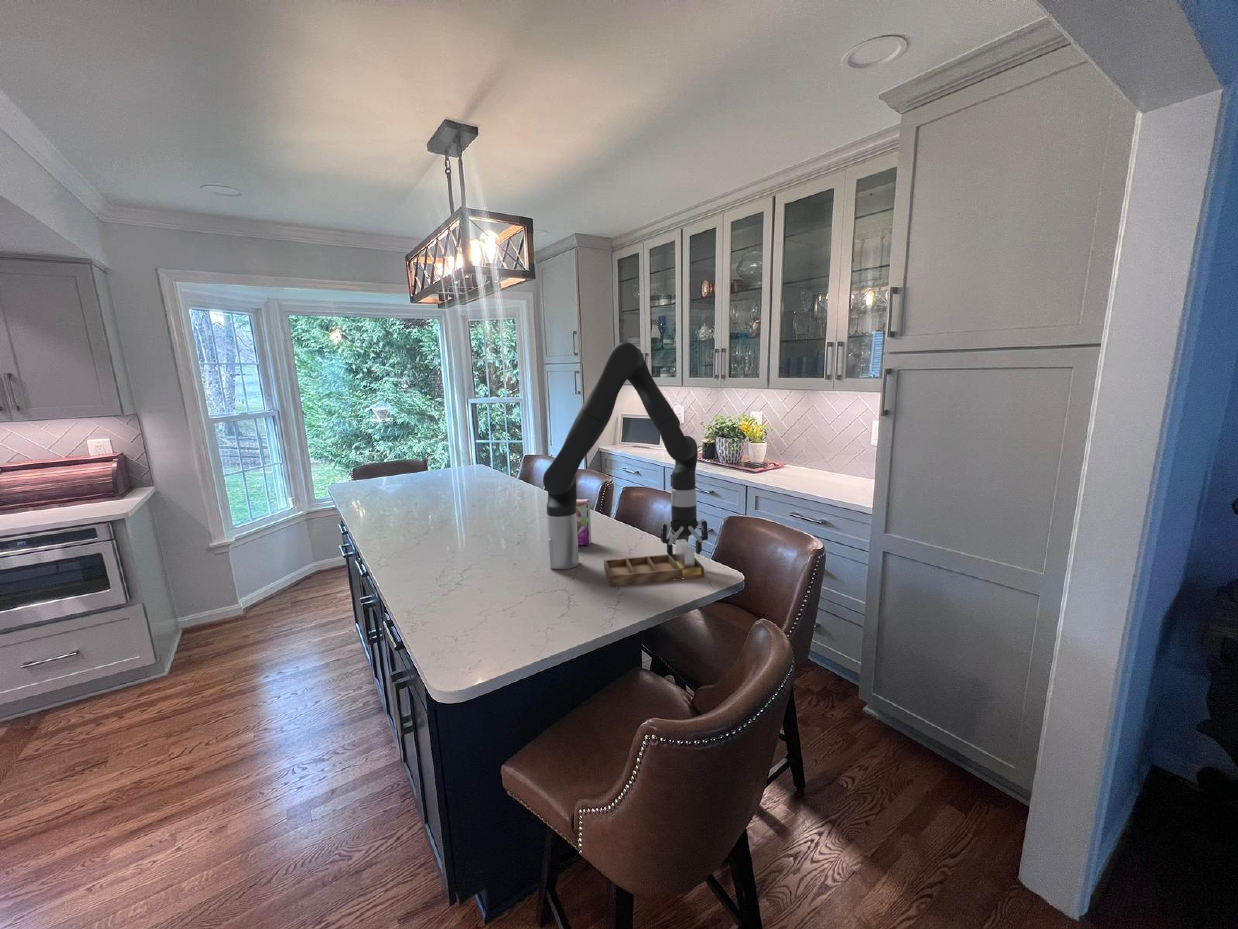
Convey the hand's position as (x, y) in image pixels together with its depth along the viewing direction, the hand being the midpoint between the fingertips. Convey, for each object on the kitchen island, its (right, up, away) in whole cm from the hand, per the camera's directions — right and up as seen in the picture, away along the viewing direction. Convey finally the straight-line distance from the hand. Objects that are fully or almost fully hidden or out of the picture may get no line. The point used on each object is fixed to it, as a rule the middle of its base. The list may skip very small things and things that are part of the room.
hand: (684, 554), depth 151 cm
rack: (-10, -6, -1) cm, 11 cm away
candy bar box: (-36, -2, +29) cm, 46 cm away
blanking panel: (0, -4, +1) cm, 4 cm away
